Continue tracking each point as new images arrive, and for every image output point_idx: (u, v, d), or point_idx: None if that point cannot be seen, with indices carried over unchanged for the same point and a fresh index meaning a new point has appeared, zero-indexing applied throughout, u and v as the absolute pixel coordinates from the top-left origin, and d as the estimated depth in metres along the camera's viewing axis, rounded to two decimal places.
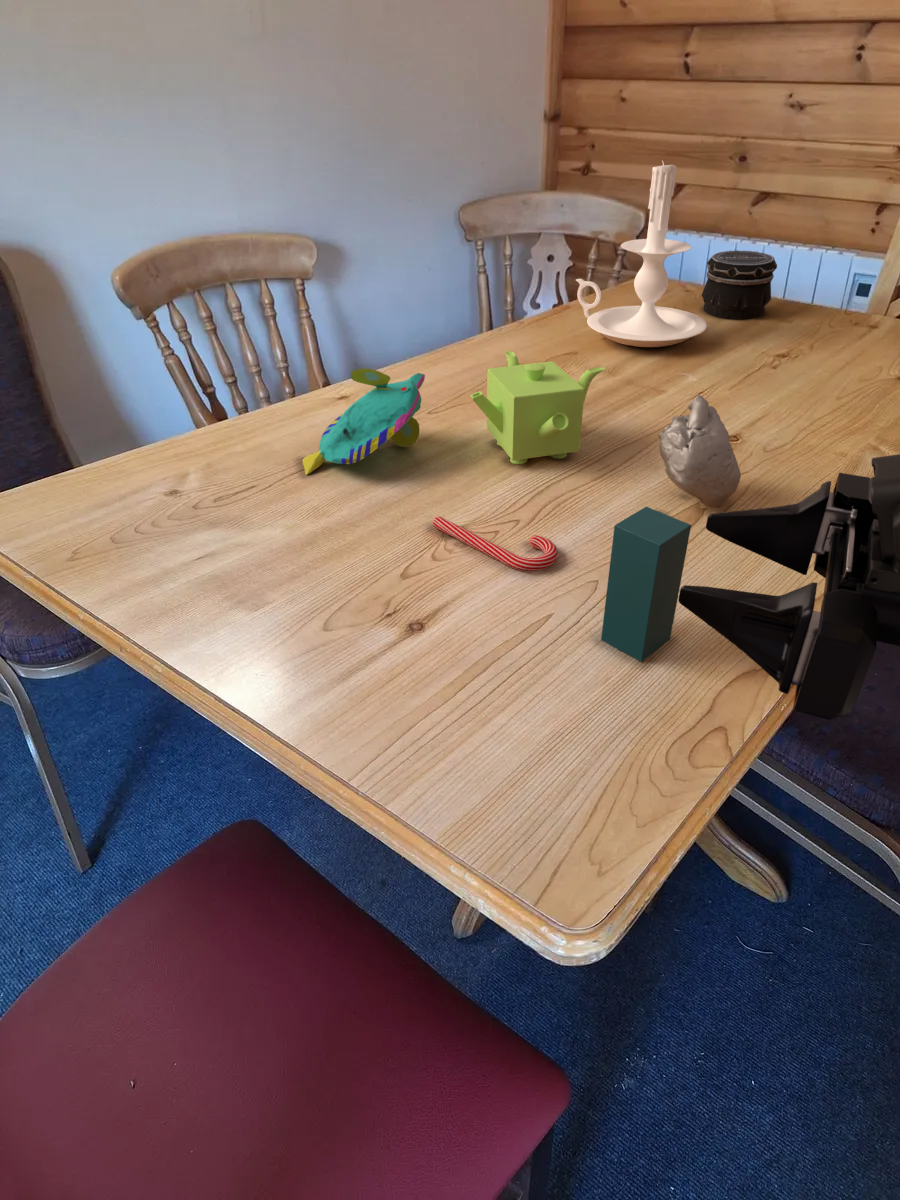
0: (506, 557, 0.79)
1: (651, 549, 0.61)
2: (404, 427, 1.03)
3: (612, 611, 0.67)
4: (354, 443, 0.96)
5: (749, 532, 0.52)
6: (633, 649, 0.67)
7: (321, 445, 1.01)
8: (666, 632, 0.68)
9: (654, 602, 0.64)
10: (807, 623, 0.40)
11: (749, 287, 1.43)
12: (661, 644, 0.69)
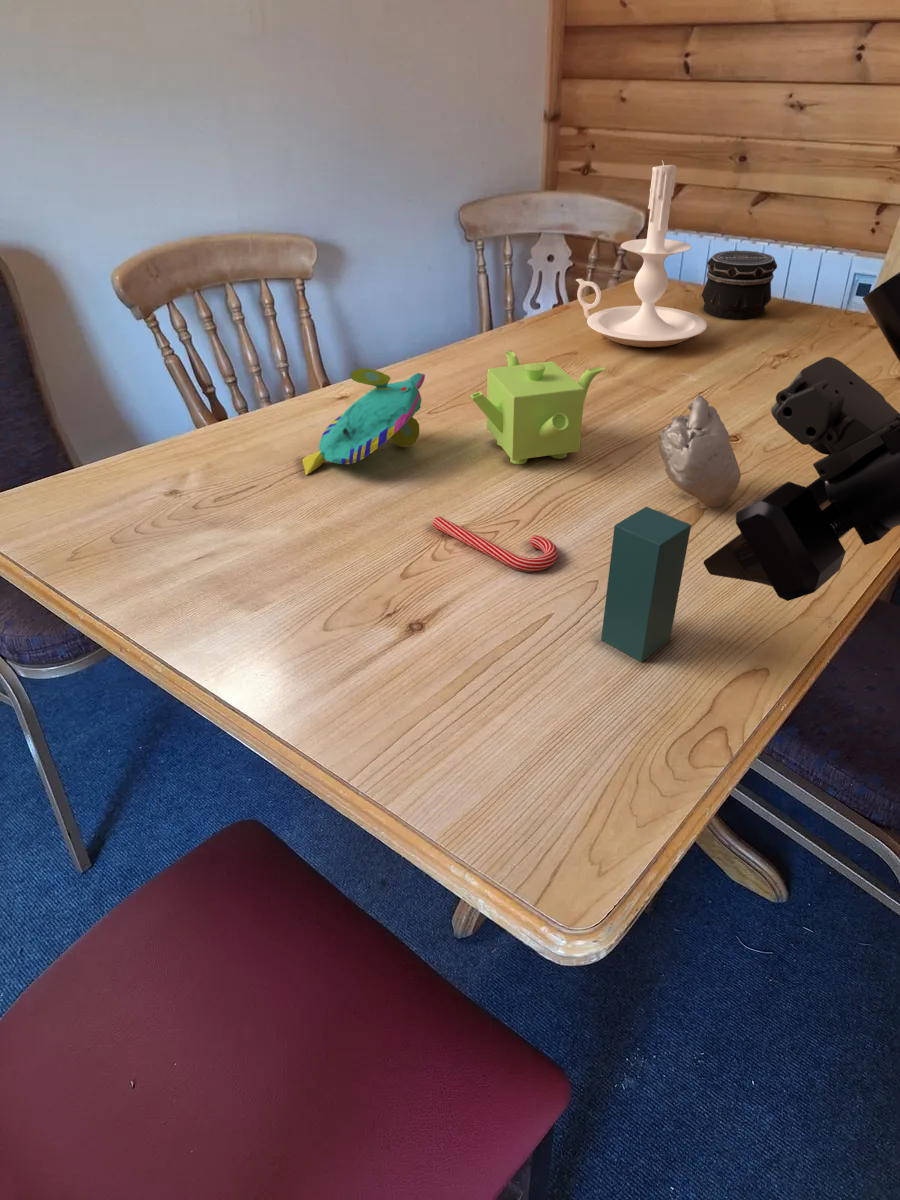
0: (506, 557, 0.79)
1: (651, 549, 0.61)
2: (404, 427, 1.03)
3: (612, 611, 0.67)
4: (354, 443, 0.96)
5: None
6: (633, 649, 0.67)
7: (321, 445, 1.01)
8: (666, 632, 0.68)
9: (654, 602, 0.64)
10: None
11: (749, 287, 1.43)
12: (661, 644, 0.69)
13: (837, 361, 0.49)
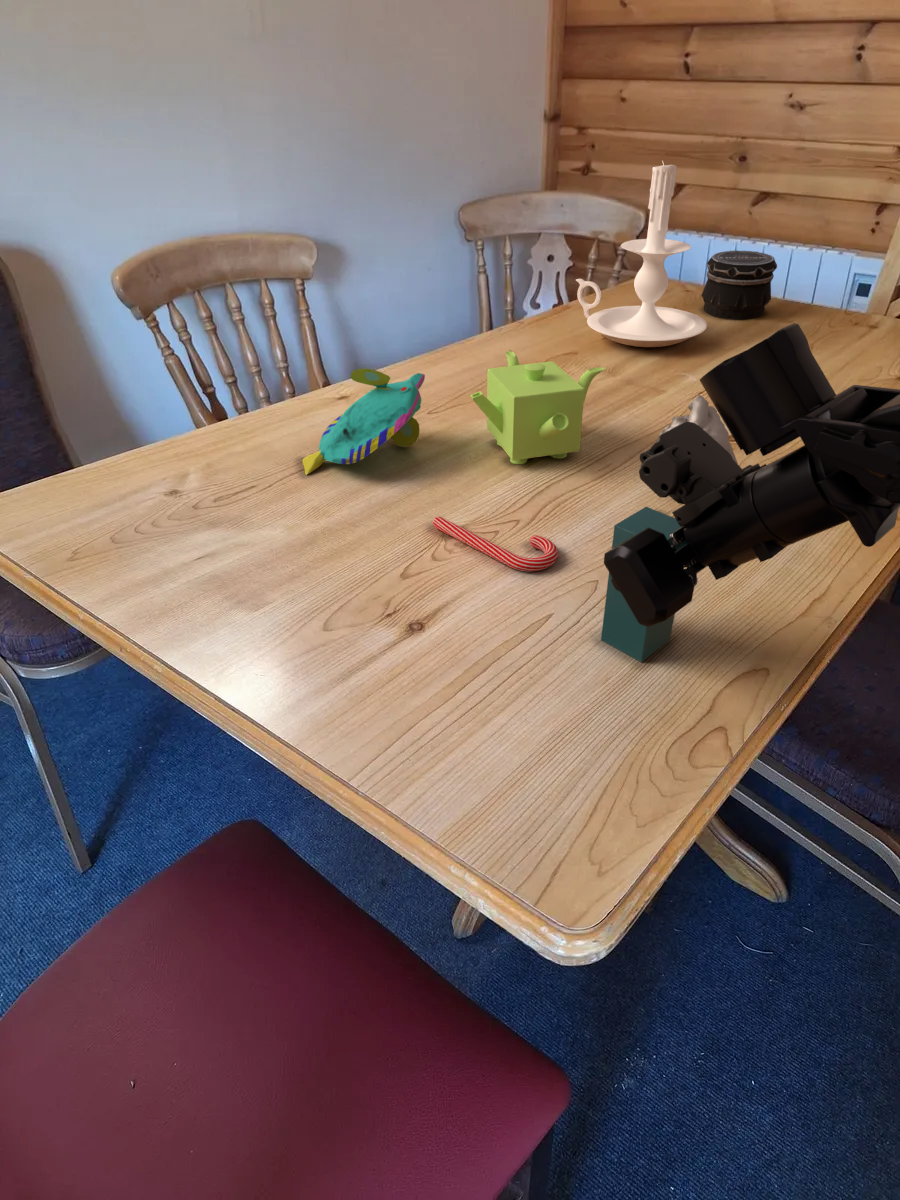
0: (506, 557, 0.79)
1: None
2: (404, 427, 1.03)
3: (612, 611, 0.67)
4: (354, 443, 0.96)
5: None
6: (633, 649, 0.67)
7: (321, 445, 1.01)
8: (666, 632, 0.68)
9: None
10: None
11: (749, 287, 1.43)
12: (661, 644, 0.69)
13: (695, 425, 0.59)
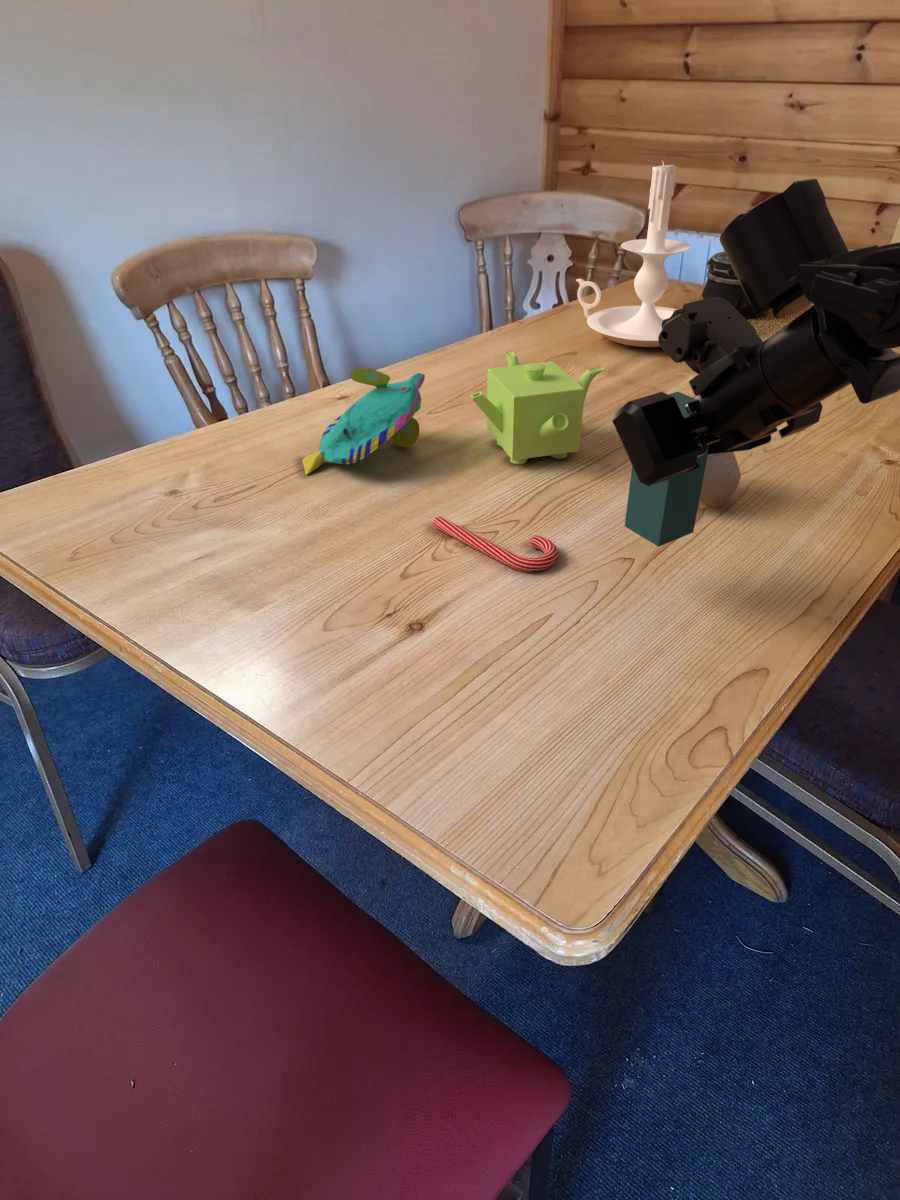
0: (506, 557, 0.79)
1: None
2: (404, 427, 1.03)
3: (635, 495, 0.69)
4: (354, 443, 0.96)
5: None
6: (652, 533, 0.69)
7: (321, 445, 1.01)
8: (688, 522, 0.70)
9: (672, 483, 0.66)
10: None
11: None
12: (682, 534, 0.70)
13: (724, 301, 0.60)
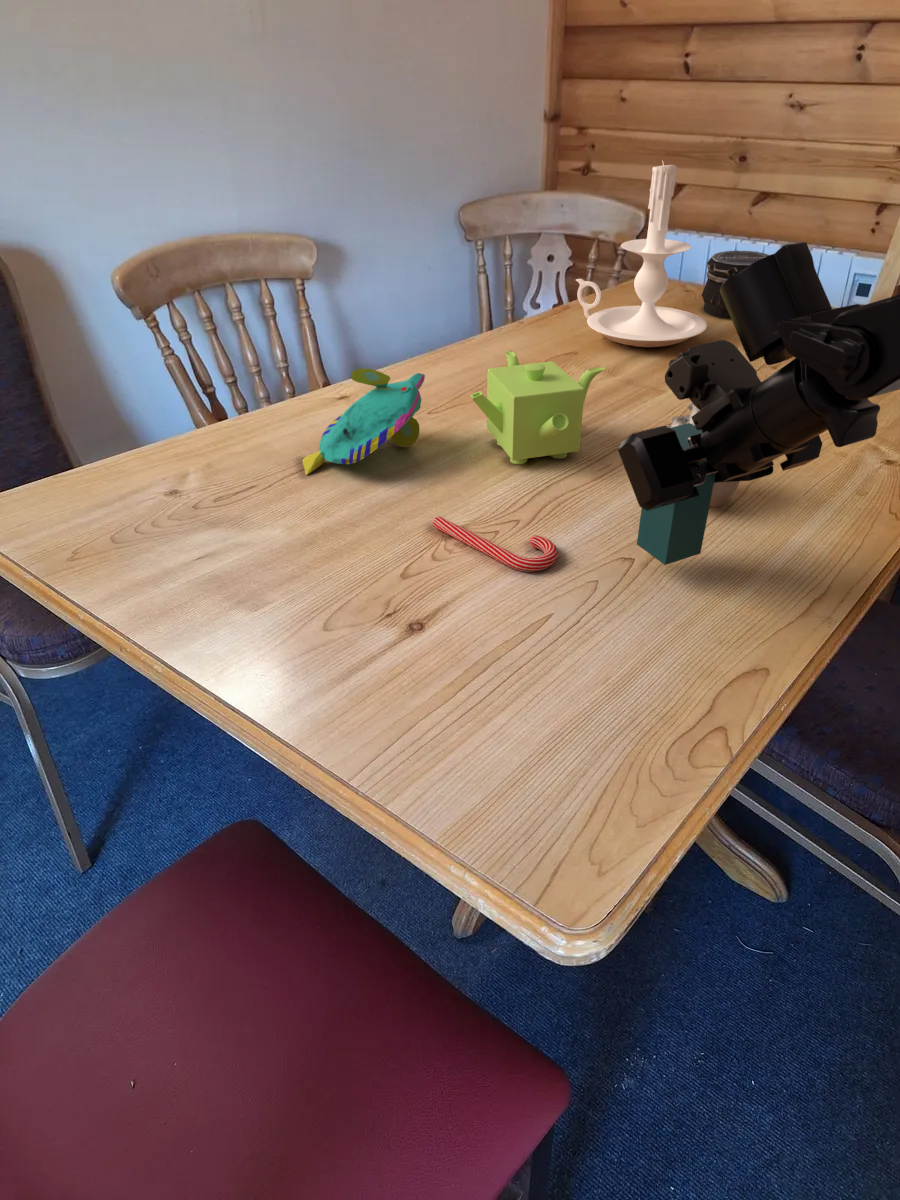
0: (506, 557, 0.79)
1: None
2: (404, 427, 1.03)
3: (646, 516, 0.75)
4: (354, 443, 0.96)
5: None
6: (659, 552, 0.75)
7: (321, 445, 1.01)
8: (695, 543, 0.75)
9: (678, 507, 0.71)
10: None
11: None
12: (689, 554, 0.75)
13: (730, 344, 0.65)
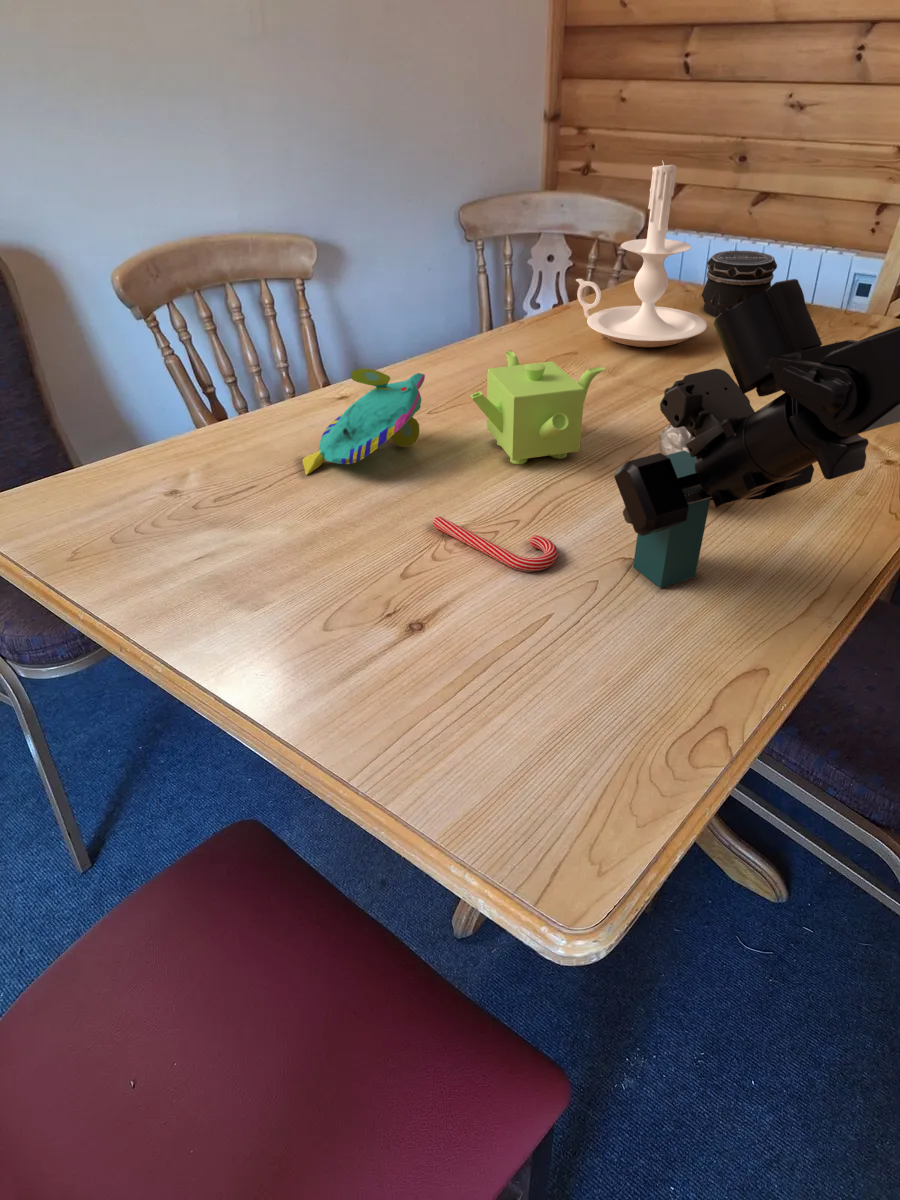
0: (506, 557, 0.79)
1: None
2: (404, 427, 1.03)
3: (642, 540, 0.77)
4: (354, 443, 0.96)
5: None
6: (655, 576, 0.76)
7: (321, 445, 1.01)
8: (690, 567, 0.77)
9: (673, 533, 0.73)
10: None
11: (749, 287, 1.43)
12: (684, 578, 0.77)
13: (724, 372, 0.67)
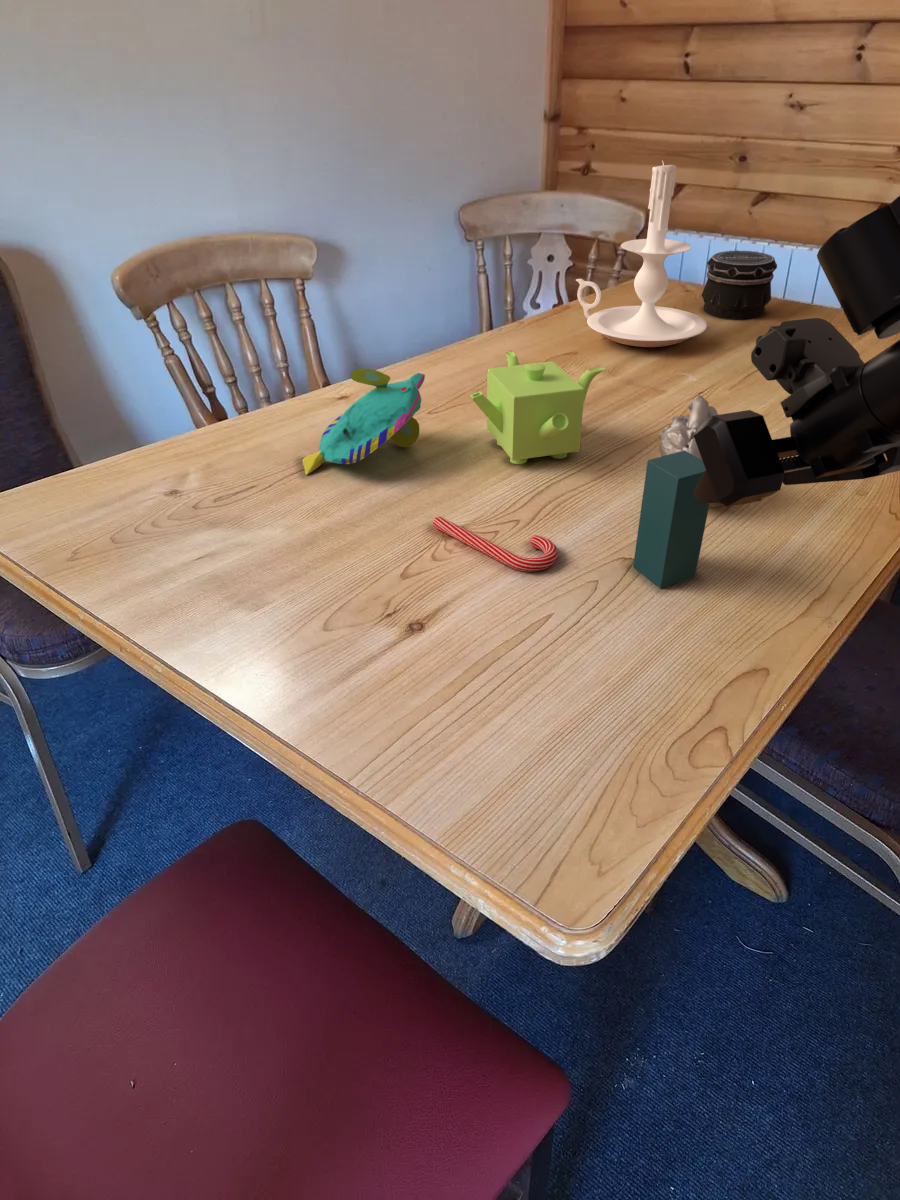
0: (506, 557, 0.79)
1: (671, 483, 0.70)
2: (404, 427, 1.03)
3: (642, 540, 0.77)
4: (354, 443, 0.96)
5: (807, 468, 0.64)
6: (655, 576, 0.76)
7: (321, 445, 1.01)
8: (690, 567, 0.77)
9: (673, 533, 0.73)
10: None
11: (749, 287, 1.43)
12: (684, 578, 0.77)
13: (827, 322, 0.56)
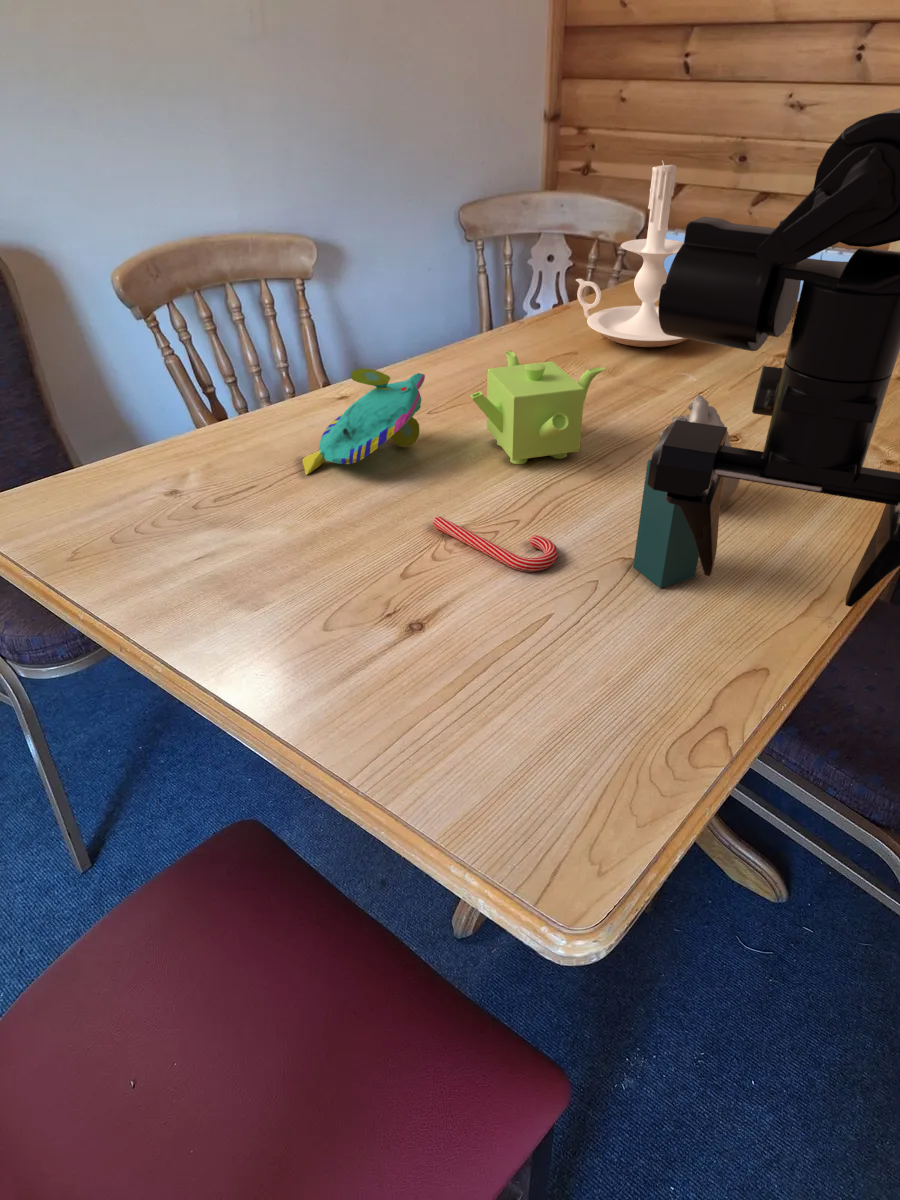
0: (506, 557, 0.79)
1: None
2: (404, 427, 1.03)
3: (642, 540, 0.77)
4: (354, 443, 0.96)
5: (860, 569, 0.50)
6: (655, 576, 0.76)
7: (321, 445, 1.01)
8: (690, 567, 0.77)
9: (673, 533, 0.73)
10: None
11: None
12: (684, 578, 0.77)
13: None
